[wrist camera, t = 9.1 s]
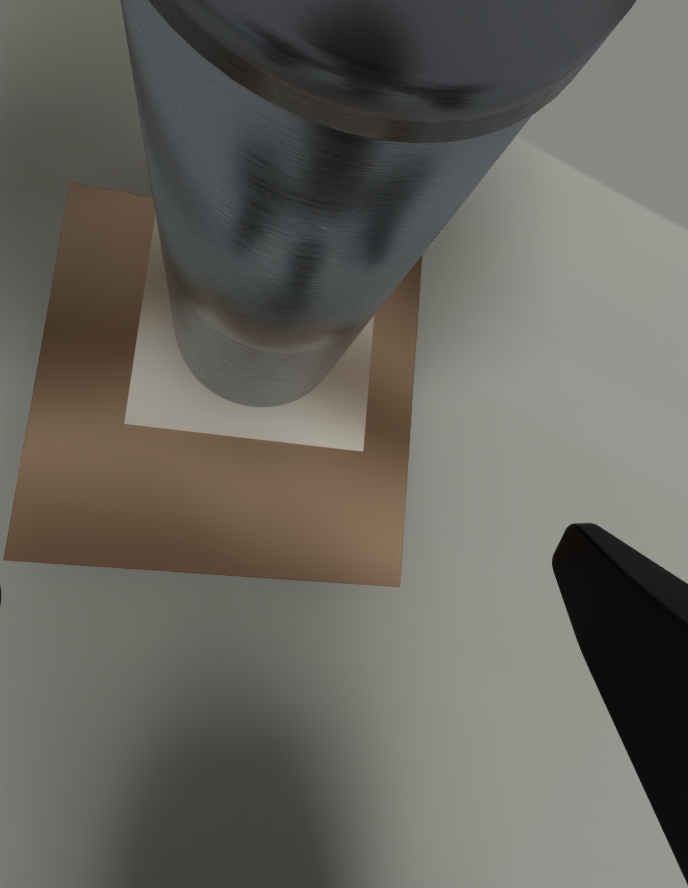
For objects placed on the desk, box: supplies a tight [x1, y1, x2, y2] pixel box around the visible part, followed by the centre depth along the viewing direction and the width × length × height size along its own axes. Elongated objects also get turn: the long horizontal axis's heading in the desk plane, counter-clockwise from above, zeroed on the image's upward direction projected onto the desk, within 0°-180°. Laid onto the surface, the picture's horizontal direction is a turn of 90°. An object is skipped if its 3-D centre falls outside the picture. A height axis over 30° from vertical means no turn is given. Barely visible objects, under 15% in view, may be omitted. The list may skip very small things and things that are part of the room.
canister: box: [121, 0, 636, 407], centre depth 11 cm, size 5×5×13 cm
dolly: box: [3, 182, 422, 587], centre depth 18 cm, size 11×11×3 cm
